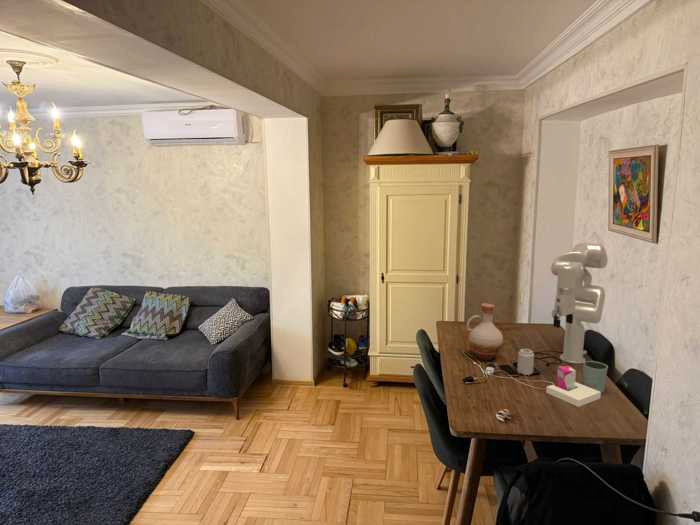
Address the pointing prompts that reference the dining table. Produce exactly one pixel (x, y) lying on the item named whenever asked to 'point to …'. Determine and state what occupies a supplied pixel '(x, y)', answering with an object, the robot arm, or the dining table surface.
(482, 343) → the jug
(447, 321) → the dining table surface
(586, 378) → the grey-green cup
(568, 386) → the supplement box
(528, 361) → the can
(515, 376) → the dining table surface
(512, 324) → the dining table surface
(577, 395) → the notched board
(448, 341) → the dining table surface
